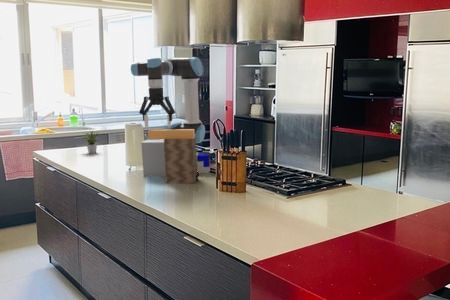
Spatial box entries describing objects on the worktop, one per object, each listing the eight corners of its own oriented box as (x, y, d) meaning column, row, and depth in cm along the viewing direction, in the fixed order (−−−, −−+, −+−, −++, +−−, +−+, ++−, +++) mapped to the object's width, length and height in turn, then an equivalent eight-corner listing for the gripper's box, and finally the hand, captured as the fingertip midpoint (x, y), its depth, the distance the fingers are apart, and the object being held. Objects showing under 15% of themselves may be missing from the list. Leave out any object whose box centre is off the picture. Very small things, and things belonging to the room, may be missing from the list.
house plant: (98, 149, 350) (97, 127, 347) (107, 152, 340) (105, 129, 337) (80, 152, 342) (78, 130, 338) (88, 155, 331) (86, 131, 328)
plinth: (143, 175, 267) (141, 142, 263) (148, 172, 275) (146, 139, 272) (171, 175, 264) (169, 142, 261) (175, 172, 273) (173, 139, 270)
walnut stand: (166, 182, 250) (163, 139, 245) (170, 178, 258) (168, 136, 254) (194, 183, 248) (192, 139, 243) (197, 178, 256) (195, 136, 252)
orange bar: (148, 139, 249) (147, 130, 248) (150, 137, 253) (150, 129, 252) (193, 138, 246) (192, 130, 245) (194, 137, 250) (194, 129, 249)
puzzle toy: (209, 172, 270) (208, 155, 268) (191, 173, 270) (191, 155, 268) (210, 168, 280) (209, 151, 278) (193, 169, 280) (192, 152, 278)
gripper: (131, 88, 253) (134, 127, 257) (174, 87, 245) (176, 128, 249) (138, 87, 260) (140, 125, 264) (180, 86, 252) (181, 126, 256)
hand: (157, 127), depth 257 cm, fingers open, 13 cm apart
